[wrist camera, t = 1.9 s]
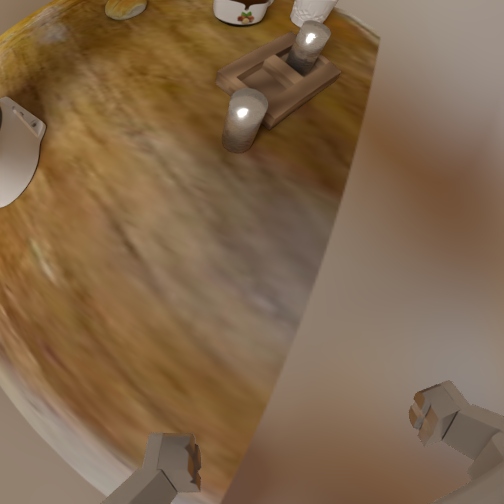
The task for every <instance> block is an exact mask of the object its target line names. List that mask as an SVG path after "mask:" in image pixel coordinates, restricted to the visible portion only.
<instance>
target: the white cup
mask: <svg viewBox="0 0 504 504" xmlns="http://www.w3.org/2000/svg"><path fill="white" fill-rule="evenodd" d="M337 1H338V0H295V1H294V5H293V9H292V12H291V15H290V18H291V21H292V22H293V23H294V24H295V25H297V26H298V27H300V28H301V27H302V25H303V23H304V22H305V21H307V20H314V21H318V22H320V23H323V22H324V20H325V19H326V18H327V16H328V15H329V14H330V12H331V11H332V9H333V8H334V6H335V4H336V3H337Z"/></svg>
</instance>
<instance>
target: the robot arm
mask: <svg viewBox="0 0 504 504" xmlns="http://www.w3.org/2000/svg"><path fill="white" fill-rule="evenodd" d="M35 125H36V126H35ZM34 126H35V127H34ZM45 129H46V125H45V124H44V123H43V122H42V121H41V120H39V119H38V118H37V117H35V116H34V115H32V114H31V113H30V112H28V111H27V110H25V109H24V108H23V107H21V106H20V105H19V104H17V103H16V102H14V101H13V100H12V99H10V98H9V97H7V96H6V97H3V98H1V99H0V207H3V206H6V205H8V204H9V203H11V202H12V201H14V200H15V199H16V198H17V197H18V196H19V195H20V194H21V193H22V192H23V191H24V189H25V188H26V186H27V185H28V183H29V182H30V180H31V178H32V176H33V174H34V172H35V169H36V166H37V163H38V158H39V147H40V141H41V139H42V137H43V135H44V132H45ZM414 400H415V402H414V403H413V405H411V407H410V410H409V419H410V422H411V424H412V426H413V428H416V429H418V430H419V432H418V436H419V438H420V440H421V442H422V444H423V446H424V447H426V446H429V445H431V444H433V443H436V442H439V441H441V440H442V441H443V442H444V443H446V444H447V445H449V446H451V447H452V448H454V449H456V450H457V451H459V452H461V453H462V454H464V455H466V456H468V457H469V458H471V459H473V460H474V462H473V463H472V464H471V466H470V467H469V468H468V470H467V473H468V474H469V476H470V478H471V480H472V481H471V482H469V483H468V484H466V485H464V486H462V487H461V488H459V489H457V490H455V491H453V492H452V493H449V494H448V495H446V496H444V497H442V498H440V499H438V500H436V501H433V502H431V503H429V504H504V416H502V415H499V414H497V413H494V412H491V411H489V410H486V409H484V408H481V407H479V406H476V405H473V404H472V405H470V404H469V403H468V402H467V400H466V399H465V398H464V396H463V395H462V394H461V393H460V391H459V390H458V389H457V388H456V386H455V385H454V384H453V383H452V382H451V381H450V380H448V381H445V382H442V383H440V384H436V385H434V386H431V387H429V388H426V389H424V390H421V391H419V392H417V393H416V394H415V396H414ZM201 466H202V460H201V452H200V448H199V446H198V445H197V444H195V437H194V434H193V433H150V435H149V436H148V441H147V446H146V451H145V456H144V461H143V466H142V469H137V470H136V471H135V472H134V473H133V474H132V475H131V476H130V477H129V478H128V479H127V480H126V481H125V482H124V483H122V484H121V485H120V486H119V487H118V488H117V489H116V490H115V491H114V492H113V493H112V494H110V495H109V496H108V497H107V498H106V499H105V500H104V501H103V502H102V503H100V504H170V503H171V502H172V500H173V499H174V498H175V496H176V495H177V494H178V493H177V492H201V476H200V474H199V472H198V471H199V470H200V469H201Z"/></svg>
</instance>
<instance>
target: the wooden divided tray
mask: <svg viewBox="0 0 504 504" xmlns="http://www.w3.org/2000/svg"><path fill="white" fill-rule="evenodd" d="M296 37H297V35H295V34H294V33H293V32H289V33H287V34H285V35H283V36H281V37H279V38H277V39H275V40H273V41H271V42H269V43H267V44H265V45H263V46H261V47H259V48H257V49H255V50H253V51H251V52H250V53H248V54H246V55H244V56H242V57H241V58H239V59H237V60H235V61H234V62H232V63H230V64H228V65H227V66H225V67H223V68H222V69H220V70H218V72H217V78H216V85H218V86H219V87H220V88H221V89H222V90H224V91H225V92H226V93H227V94H228V95H230V96H231V97H232V95H233V94H234V93H235V92H236V91H237V90H240V89H243V88H251V89H255V90H257V91H259V92H261V93H262V94H263V95H264V96H265V97H266V99H267V101H268V108H267V111H266V113H265V115H264V118H263V120H262V122H261V123H262V124H263V125H264V126H265V127H266V128H267V129H268V130H271V129H272V128H273V127H274V126H276V125H277V124H278V123H280V122H281V121H282V120H283V119H285V118H286V117H287V116H289V115H290V114H291V113H292V112H294V111H295V110H296V109H298V108H299V107H300V106H302V105H303V104H304V103H306V102H307V101H308V100H310V99H311V98H313V97H314V96H315V95H317V94H318V93H319V92H321V91H322V90H324V89H325V88H326V87H328V86H329V85H331V84H332V83H333V82H334V81H335V80H336V79H337V77H338V76H339V74H340V73H341V71H340V70H339V69H338V68H337V67H336V66H334V65H333V64H332V63H331V62H330V61H329V60H327V59H326V58H325V57H324V56H323V55H321V54H319V56H318V57H317V59H316V61H315V62H314V64H313V66H312V67H311V69H310V71H309V73H308V74H306V75H303V76H301V75H300V74H299V73H298V72H296V71H295V70H294V69H293V68H291V67H290V66H289V65H288V64H286V63H285V61H286V59H287V57H288V54H289V52H290V50H291V48H292V46H293V44H294V42H295V39H296Z"/></svg>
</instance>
